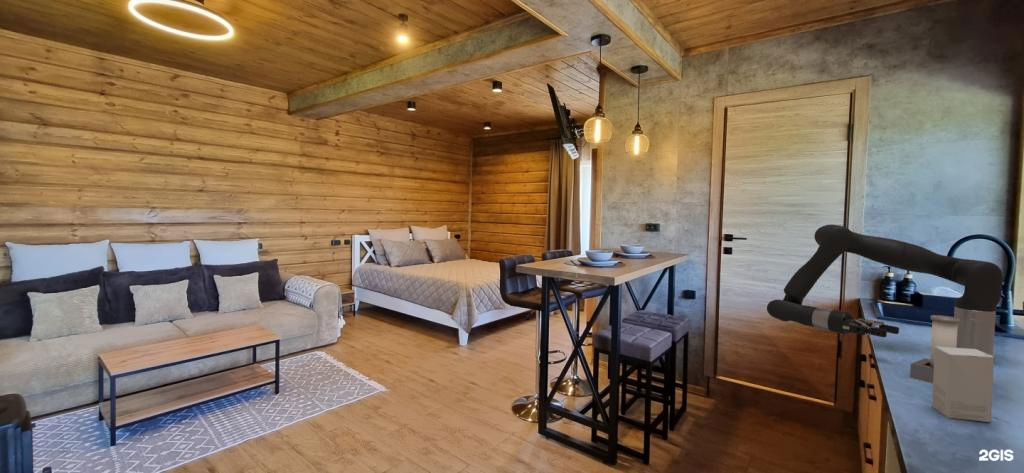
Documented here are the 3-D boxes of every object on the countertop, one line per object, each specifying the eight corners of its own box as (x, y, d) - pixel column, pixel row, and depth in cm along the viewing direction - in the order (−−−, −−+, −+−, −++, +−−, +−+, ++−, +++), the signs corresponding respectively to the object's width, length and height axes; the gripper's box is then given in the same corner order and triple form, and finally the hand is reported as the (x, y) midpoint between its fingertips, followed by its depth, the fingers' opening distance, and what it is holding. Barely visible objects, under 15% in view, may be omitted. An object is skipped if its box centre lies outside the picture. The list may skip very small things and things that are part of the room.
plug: (931, 375, 124) (935, 314, 124) (959, 382, 119) (963, 318, 119) (923, 378, 122) (927, 316, 121) (951, 385, 117) (955, 321, 116)
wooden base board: (938, 367, 134) (939, 351, 134) (989, 379, 124) (990, 362, 124) (908, 380, 123) (908, 363, 122) (961, 394, 113) (962, 376, 113)
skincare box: (973, 411, 103) (977, 348, 102) (993, 424, 97) (997, 357, 96) (929, 406, 106) (933, 344, 105) (946, 418, 100) (950, 352, 99)
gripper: (821, 311, 140) (883, 322, 126) (842, 307, 147) (903, 318, 133) (820, 333, 141) (881, 347, 127) (841, 329, 148) (901, 341, 133)
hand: (892, 332), depth 130 cm, fingers open, 8 cm apart
